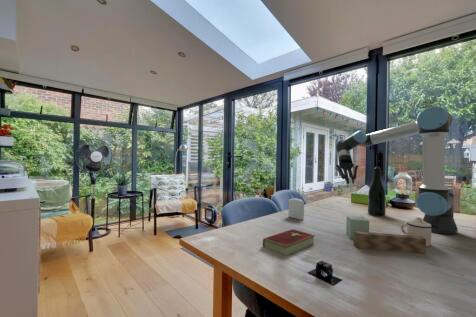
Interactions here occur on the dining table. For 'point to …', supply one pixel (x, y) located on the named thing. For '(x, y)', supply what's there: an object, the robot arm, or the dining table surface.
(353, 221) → the sage block
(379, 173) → the dark green wine bottle
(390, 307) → the dining table surface
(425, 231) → the teacup with lid
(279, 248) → the hardcover book
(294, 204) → the grey arched block
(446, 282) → the dining table surface
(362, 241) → the walnut board
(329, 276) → the black tape dispenser
